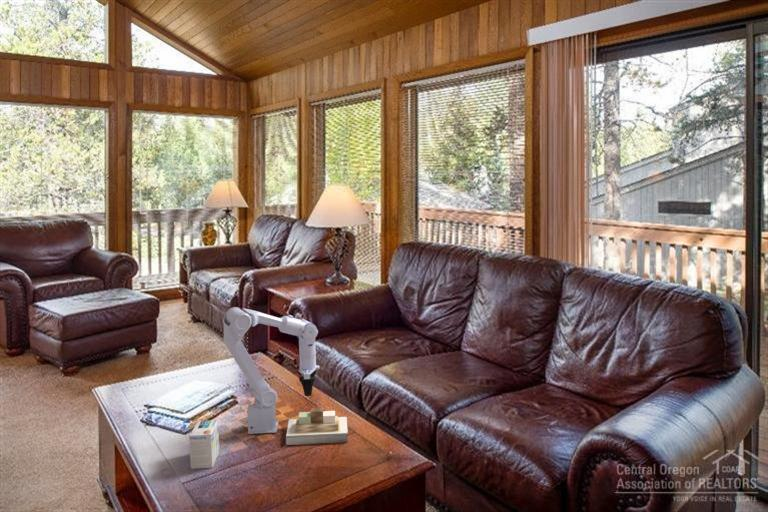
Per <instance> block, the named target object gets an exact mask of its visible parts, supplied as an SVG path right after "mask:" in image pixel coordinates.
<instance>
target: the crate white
mask: <svg viewBox="0 0 768 512" xmlns="http://www.w3.org/2000/svg"><path fill="white" fill-rule="evenodd" d="M335 416H336V410H323V423H335Z"/></svg>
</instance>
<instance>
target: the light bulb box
mask: <svg viewBox="0 0 768 512" xmlns="http://www.w3.org/2000/svg"><path fill="white" fill-rule="evenodd" d="M219 436H220V435H219V420H218V419H211V420H210V419H209V420H196V421H195V424H194V427H193V428H192V431H191V432H190V434H189V436H188V440H189V457H190V469H213V467H214V465H215V462H216V460H217V457H218V456H219V454H220V453H219V452H220V437H219Z"/></svg>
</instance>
